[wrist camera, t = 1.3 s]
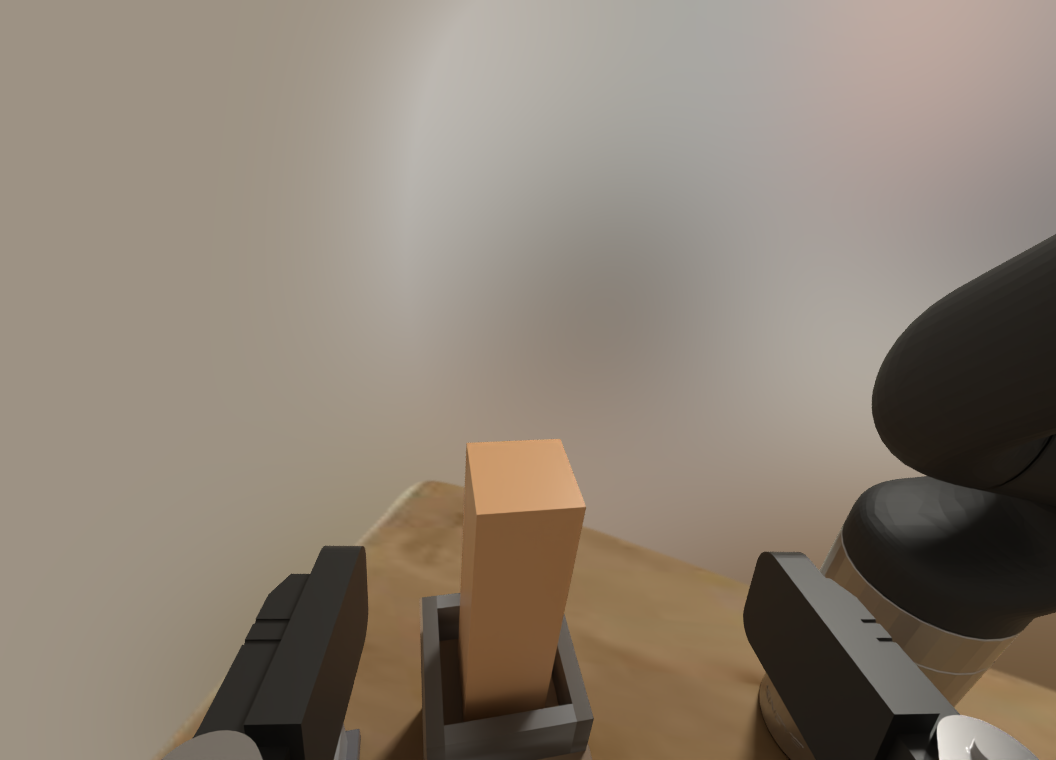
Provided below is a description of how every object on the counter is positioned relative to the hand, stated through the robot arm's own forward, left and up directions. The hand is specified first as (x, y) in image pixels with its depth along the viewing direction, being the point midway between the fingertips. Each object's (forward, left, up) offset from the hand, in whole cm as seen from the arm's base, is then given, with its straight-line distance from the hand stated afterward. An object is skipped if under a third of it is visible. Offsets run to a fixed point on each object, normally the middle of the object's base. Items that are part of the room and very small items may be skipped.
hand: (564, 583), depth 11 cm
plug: (-1, -9, -20) cm, 22 cm away
